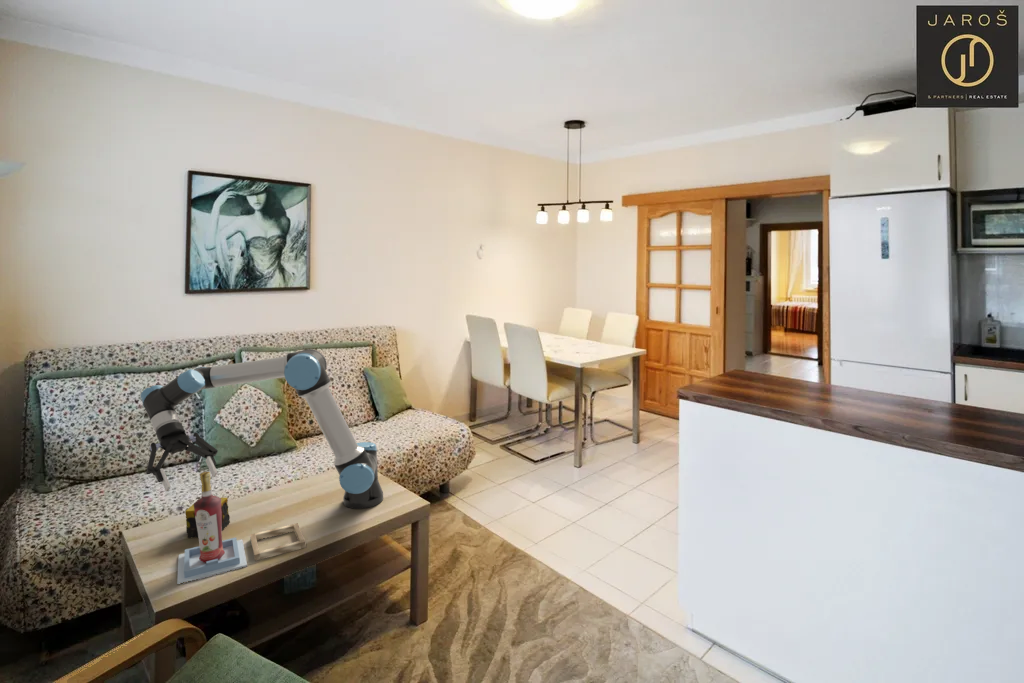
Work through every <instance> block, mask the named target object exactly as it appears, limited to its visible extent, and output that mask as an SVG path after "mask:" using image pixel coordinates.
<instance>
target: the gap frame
mask: <svg viewBox="0 0 1024 683" xmlns="http://www.w3.org/2000/svg"><path fill="white" fill-rule="evenodd" d="M292 531H293V532H294V531H295V532H294V534H295V537H296V539H298V540H297V541H294V542H290V543H286V544H282V545H279V546H275V547H271V548H267V549H263V550H260V548H259V545H258V541H260V540H259V539H261V540H264V539H263V538H265V539H268V538H267V537H269V538H271V537H272V536H273V537H276V536H280V535H284V534H288V532H289V533H293V532H292ZM249 536H250V537H249V538H250V544H251V547H252V548H251V549H252V554H253V553H254V554H253V557H254V561H259V559H260V560H263V559H266V558H271V557H275V556H279V555H282V554H287V553H291V552H293V551H298V550H301V549H302V550H303V549H305V548H307V543H306V539H305V537H304V535H303V532H302V529H301V527H300V524H299V523H298V522H296V523H292V524H288V525H287V524H286V525H285V526H279V527H275V528H271V529H268V530H262V531H259V532H254V533H251V534H249ZM273 537H272V538H273Z"/></svg>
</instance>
